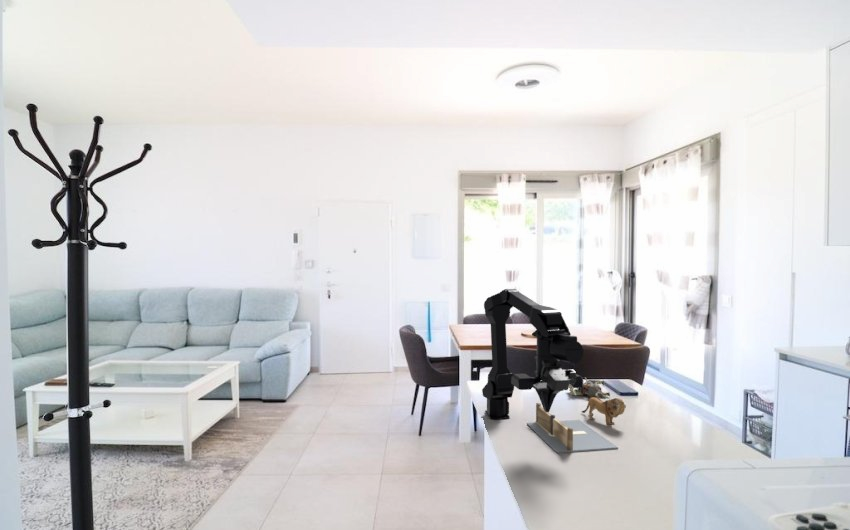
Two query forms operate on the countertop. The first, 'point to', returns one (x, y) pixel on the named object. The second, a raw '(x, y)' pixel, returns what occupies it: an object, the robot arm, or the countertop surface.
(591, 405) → the lion figurine
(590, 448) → the card
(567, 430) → the hinged plank
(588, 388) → the figurine
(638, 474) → the countertop surface
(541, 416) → the fixed plank
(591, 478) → the countertop surface
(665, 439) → the countertop surface
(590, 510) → the countertop surface
